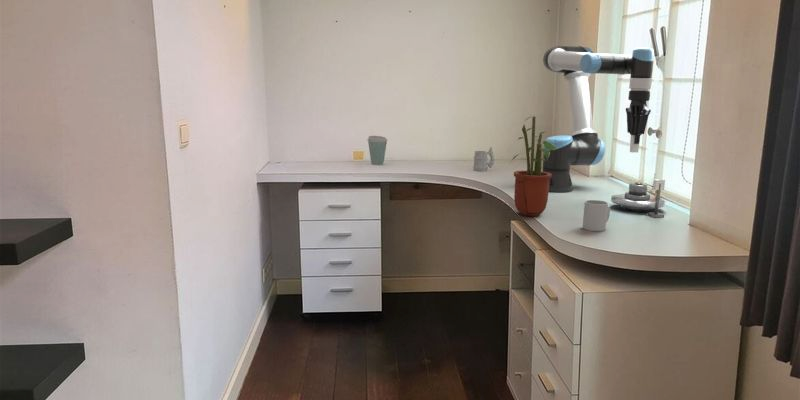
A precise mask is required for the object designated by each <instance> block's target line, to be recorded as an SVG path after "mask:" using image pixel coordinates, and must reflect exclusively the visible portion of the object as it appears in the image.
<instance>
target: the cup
mask: <svg viewBox="0 0 800 400" xmlns="http://www.w3.org/2000/svg"><path fill="white" fill-rule="evenodd" d="M583 206H584V207H583V218H582V228H583V229H584V230H586V231H590V232H595V231H600V232H604V231H605V230H606V229H607V223H608V222H609V220H610V216H611V210H610V206H609V203H608V202H607V201H605V200H598V199H597V200H596V199H588V200H585V201H584V205H583Z"/></svg>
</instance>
